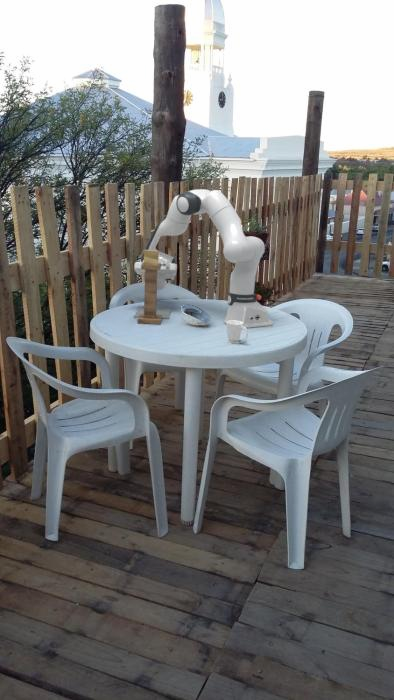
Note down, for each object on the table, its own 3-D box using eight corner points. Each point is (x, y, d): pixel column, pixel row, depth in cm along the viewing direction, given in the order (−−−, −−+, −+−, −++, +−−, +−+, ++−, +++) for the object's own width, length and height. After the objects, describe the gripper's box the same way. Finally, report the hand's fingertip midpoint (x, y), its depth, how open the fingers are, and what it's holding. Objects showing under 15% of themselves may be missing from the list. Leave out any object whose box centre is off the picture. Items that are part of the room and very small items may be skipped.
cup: (232, 338, 237) (233, 319, 235) (251, 343, 231) (253, 324, 228) (221, 341, 232) (222, 321, 229) (241, 346, 226) (242, 326, 223)
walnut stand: (140, 318, 263) (141, 261, 255) (162, 319, 263) (163, 262, 255) (137, 323, 253) (138, 264, 246) (160, 324, 253) (161, 266, 246)
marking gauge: (147, 259, 263) (147, 246, 261) (160, 260, 263) (160, 246, 261) (143, 264, 247) (143, 250, 246) (157, 265, 247) (157, 251, 246)
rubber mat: (139, 307, 285) (139, 306, 285) (171, 308, 285) (171, 307, 285) (134, 317, 264) (134, 316, 264) (168, 319, 264) (168, 318, 264)
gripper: (135, 266, 280) (132, 254, 266) (177, 267, 279) (176, 256, 266) (135, 278, 278) (131, 267, 265) (177, 280, 278) (176, 269, 264)
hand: (154, 262), depth 265 cm, fingers open, 8 cm apart
